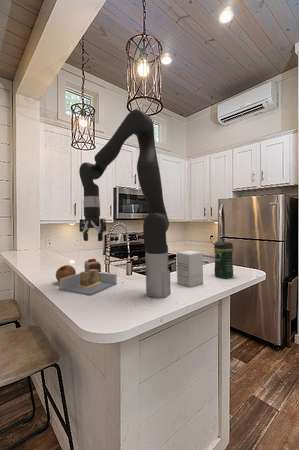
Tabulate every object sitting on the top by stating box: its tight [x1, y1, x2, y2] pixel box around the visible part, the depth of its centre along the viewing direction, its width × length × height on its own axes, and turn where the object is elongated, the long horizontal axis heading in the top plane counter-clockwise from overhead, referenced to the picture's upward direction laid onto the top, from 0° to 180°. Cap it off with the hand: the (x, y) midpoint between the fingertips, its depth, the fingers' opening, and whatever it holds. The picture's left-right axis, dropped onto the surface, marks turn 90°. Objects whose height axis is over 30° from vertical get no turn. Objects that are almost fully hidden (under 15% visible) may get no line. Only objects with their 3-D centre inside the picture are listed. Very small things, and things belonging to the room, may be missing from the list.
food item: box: [84, 257, 102, 272], centre depth 129 cm, size 14×8×10 cm, turn 28°
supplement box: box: [176, 250, 204, 288], centre depth 111 cm, size 9×9×15 cm
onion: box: [55, 264, 77, 283], centre depth 116 cm, size 10×9×10 cm
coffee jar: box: [213, 240, 234, 279], centre depth 123 cm, size 10×8×19 cm
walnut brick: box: [79, 269, 99, 287], centre depth 109 cm, size 8×4×6 cm, turn 153°
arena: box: [59, 271, 118, 296], centre depth 107 cm, size 18×18×5 cm
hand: (93, 241), depth 110 cm, fingers open, 8 cm apart
